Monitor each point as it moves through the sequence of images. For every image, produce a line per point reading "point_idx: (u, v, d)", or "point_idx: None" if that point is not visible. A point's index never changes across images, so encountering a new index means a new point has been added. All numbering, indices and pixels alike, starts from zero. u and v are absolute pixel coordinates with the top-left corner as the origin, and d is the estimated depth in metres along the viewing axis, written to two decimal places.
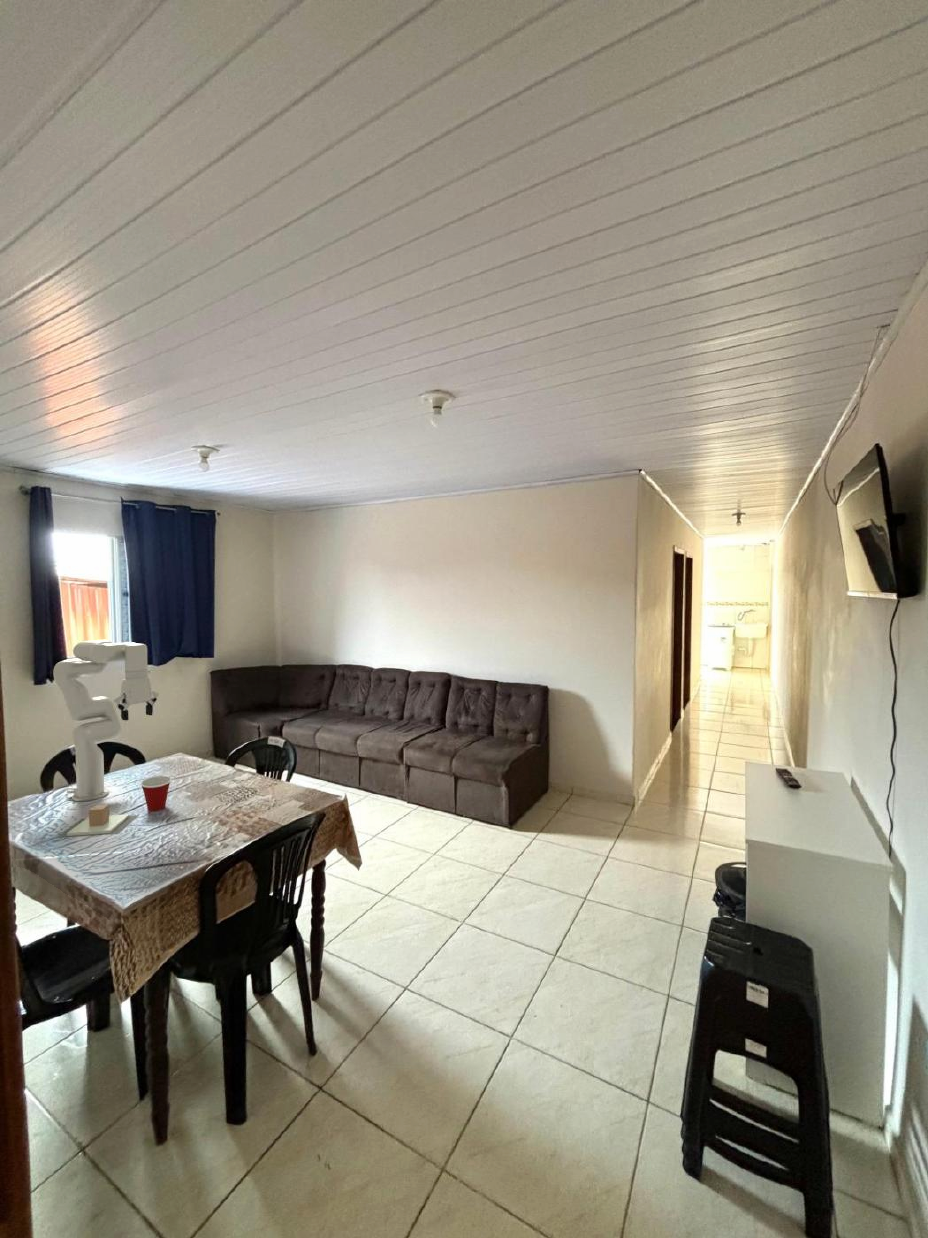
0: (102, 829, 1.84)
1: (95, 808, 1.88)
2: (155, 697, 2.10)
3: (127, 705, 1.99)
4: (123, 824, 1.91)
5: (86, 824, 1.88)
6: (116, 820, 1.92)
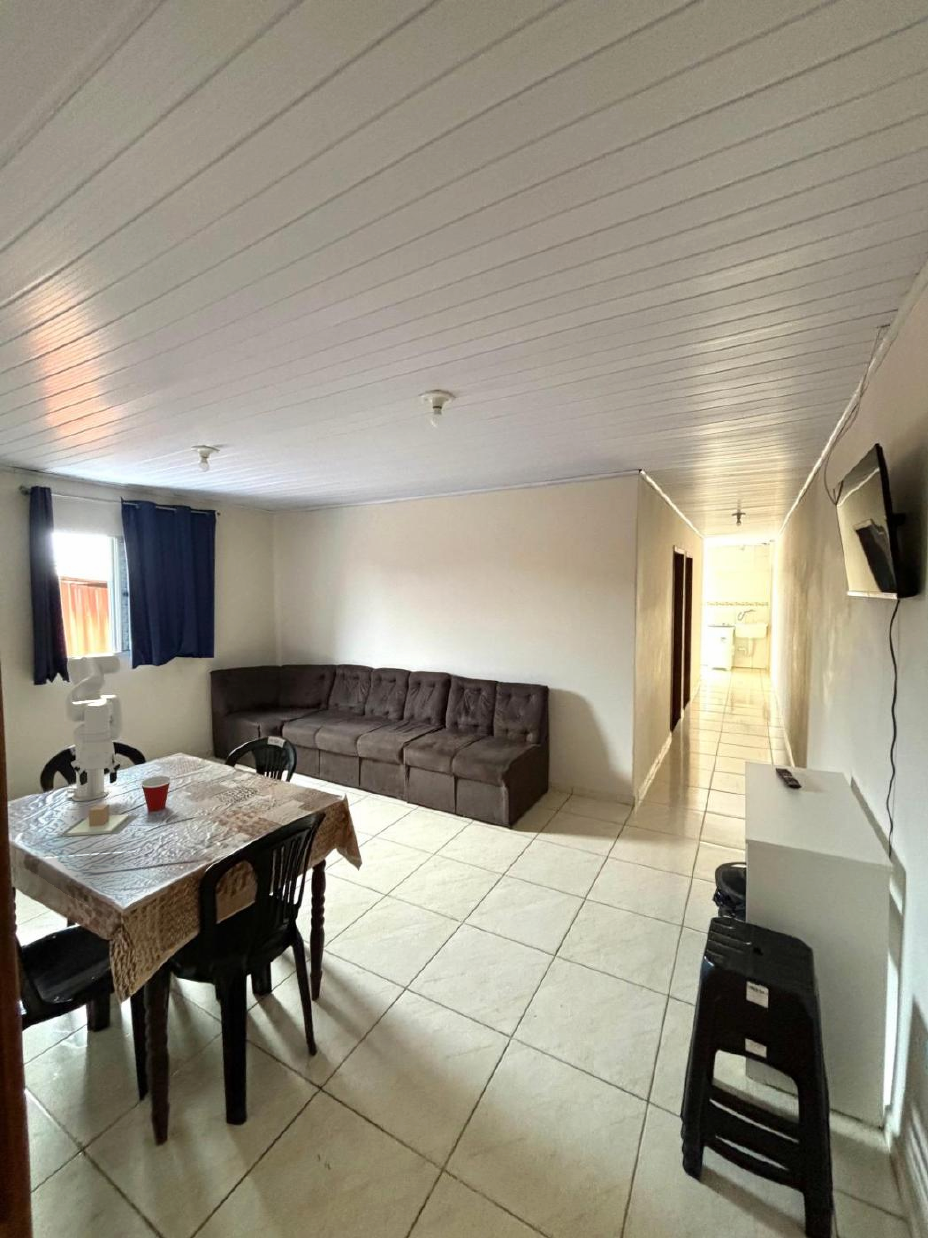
0: (102, 829, 1.84)
1: (95, 808, 1.88)
2: None
3: None
4: (123, 824, 1.91)
5: (86, 824, 1.88)
6: (116, 820, 1.92)
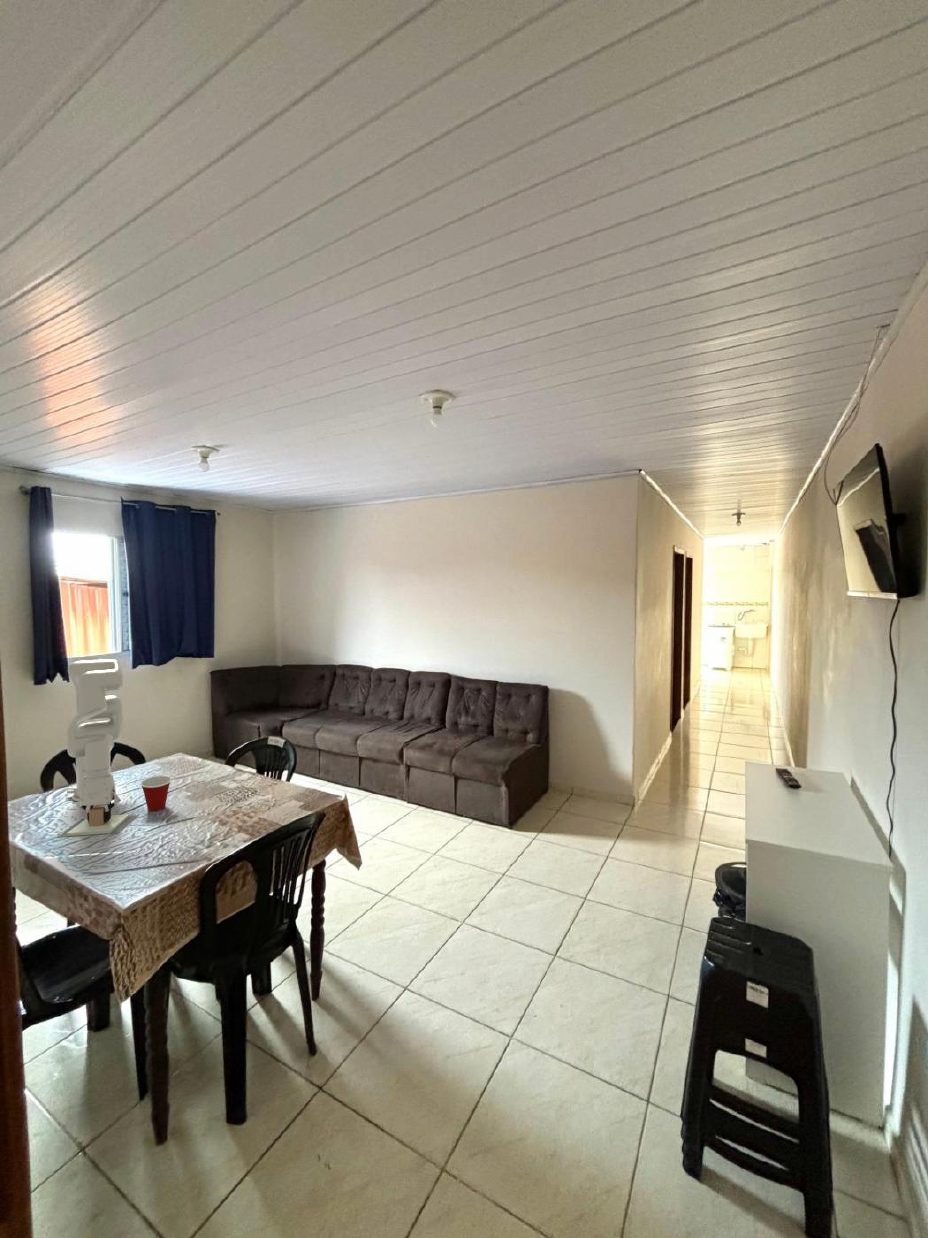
0: (102, 829, 1.84)
1: (95, 808, 1.88)
2: None
3: None
4: (123, 824, 1.91)
5: (86, 824, 1.88)
6: (116, 820, 1.92)
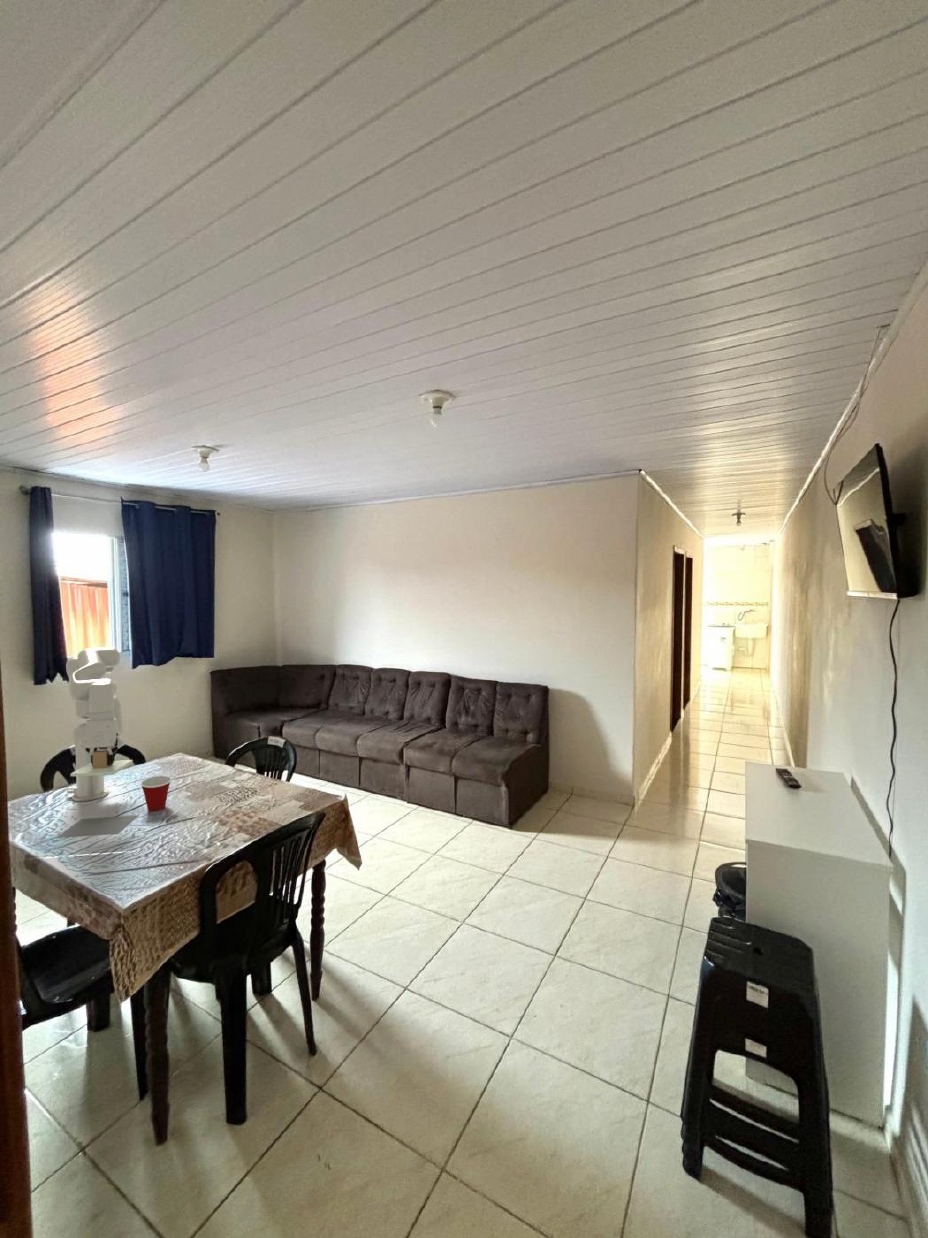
0: (105, 771, 1.85)
1: (99, 751, 1.89)
2: None
3: None
4: (123, 824, 1.91)
5: (90, 767, 1.89)
6: (119, 764, 1.92)
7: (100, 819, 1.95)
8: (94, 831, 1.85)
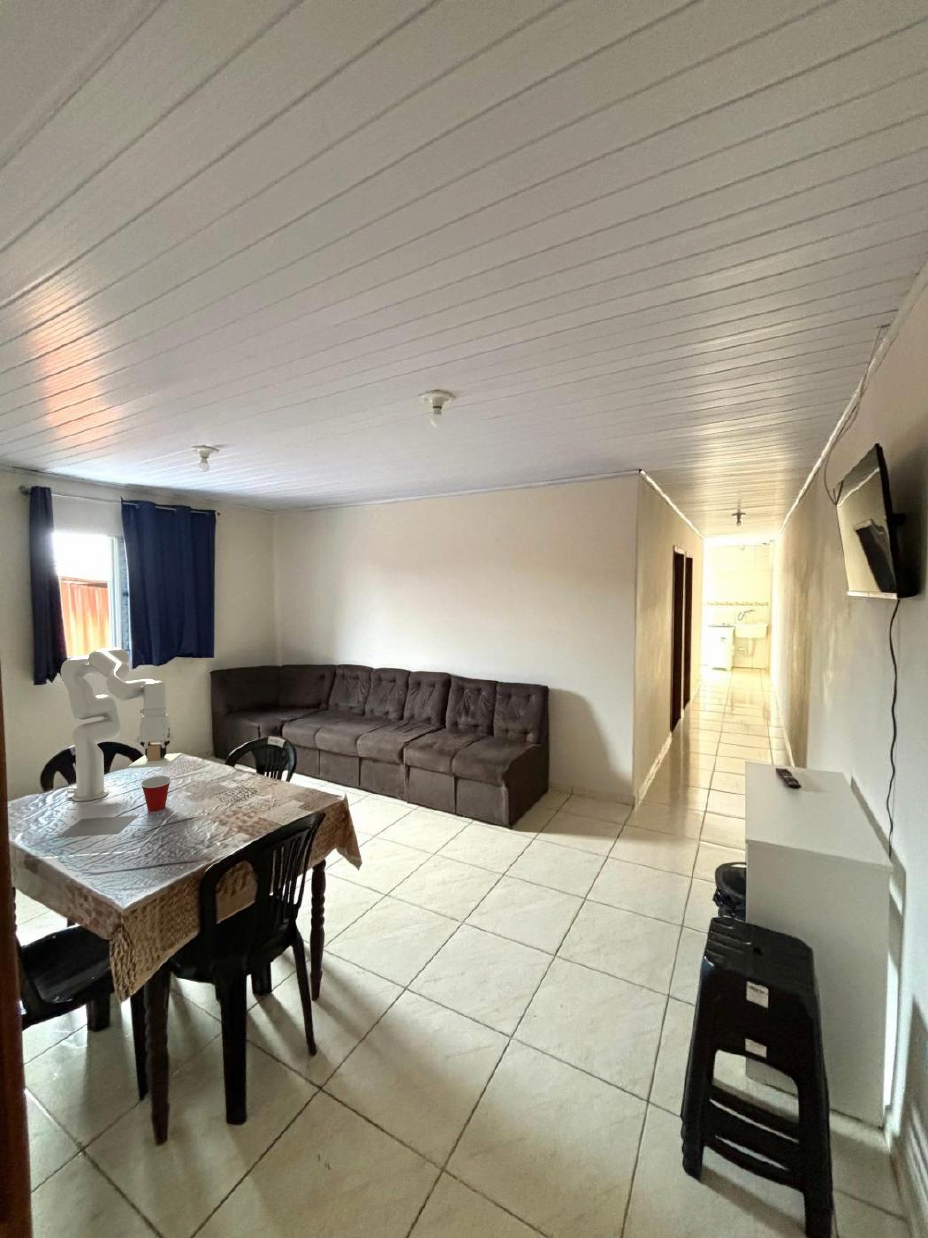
0: (160, 763, 1.99)
1: (152, 744, 2.04)
2: None
3: None
4: (123, 824, 1.91)
5: (144, 760, 2.04)
6: (171, 757, 2.07)
7: (100, 819, 1.95)
8: (94, 831, 1.85)
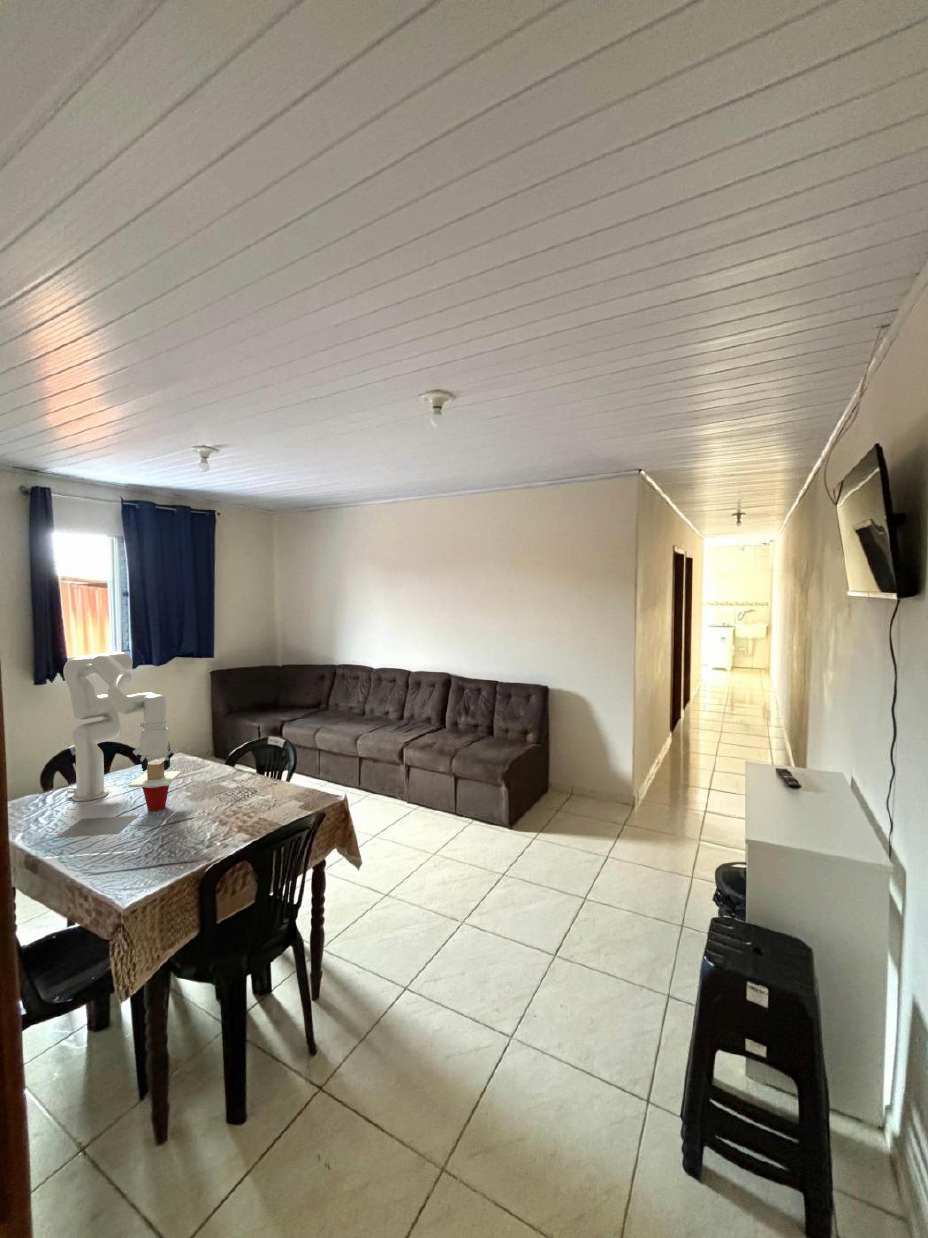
0: (160, 782, 2.00)
1: (152, 763, 2.04)
2: None
3: None
4: (123, 824, 1.91)
5: (144, 778, 2.04)
6: (171, 775, 2.07)
7: (100, 819, 1.95)
8: (94, 831, 1.85)
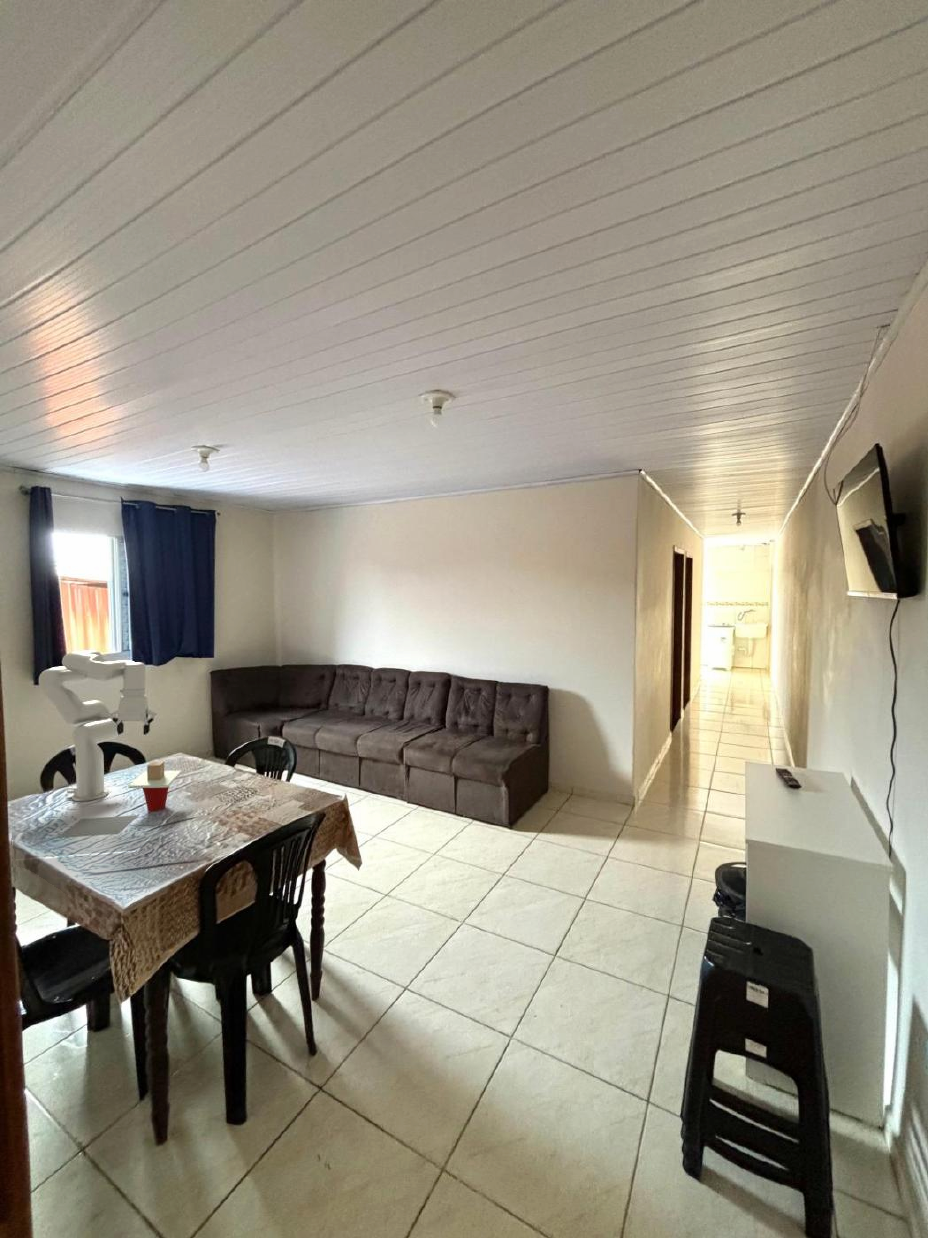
0: (160, 783, 2.00)
1: (153, 763, 2.04)
2: None
3: None
4: (123, 824, 1.91)
5: (144, 778, 2.04)
6: (171, 775, 2.07)
7: (100, 819, 1.95)
8: (94, 831, 1.85)
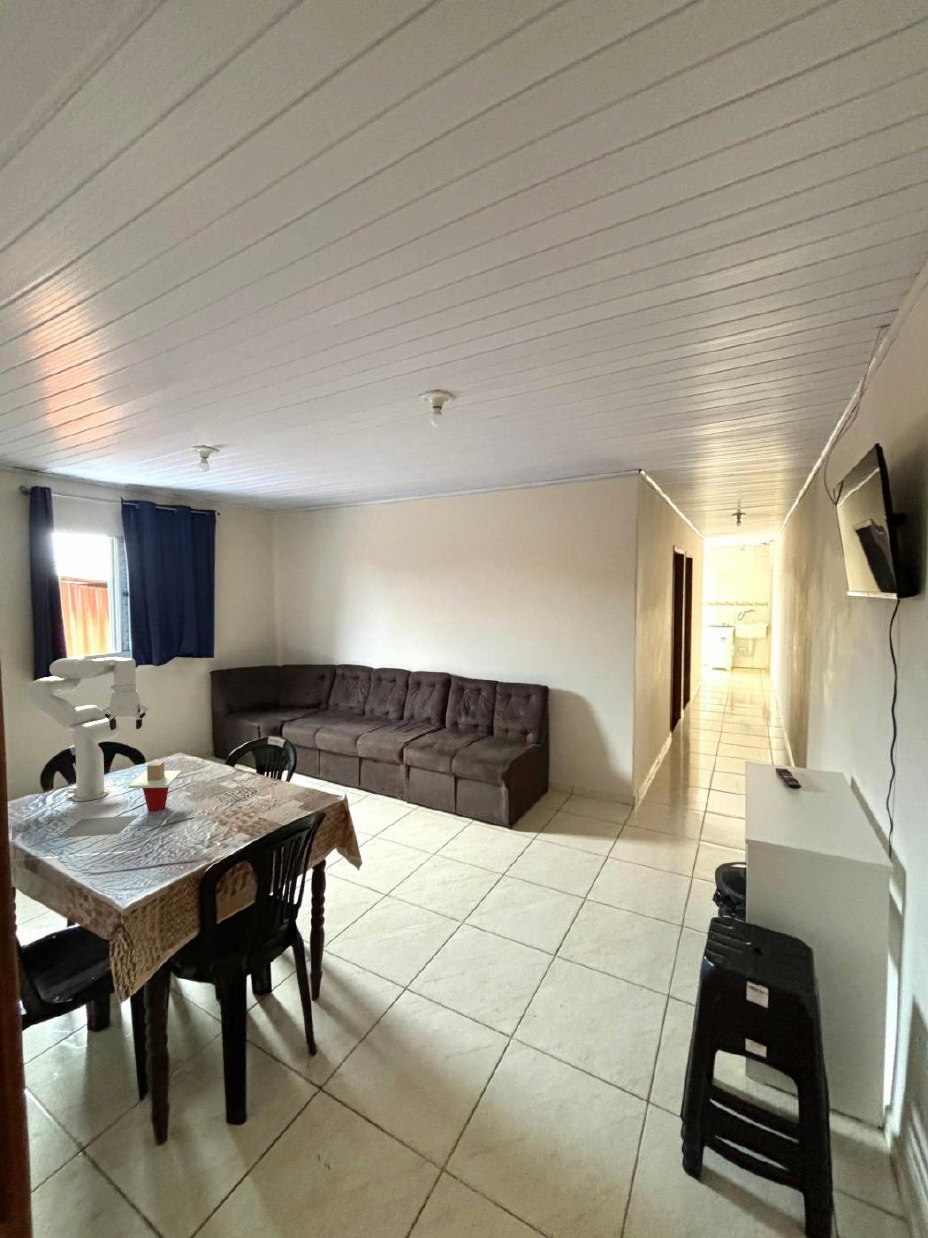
0: (160, 783, 2.00)
1: (153, 763, 2.04)
2: None
3: None
4: (123, 824, 1.91)
5: (144, 778, 2.04)
6: (171, 775, 2.07)
7: (100, 819, 1.95)
8: (94, 831, 1.85)
